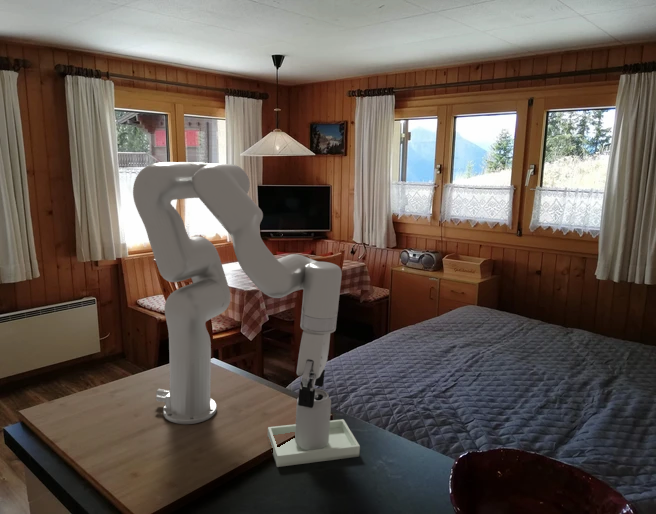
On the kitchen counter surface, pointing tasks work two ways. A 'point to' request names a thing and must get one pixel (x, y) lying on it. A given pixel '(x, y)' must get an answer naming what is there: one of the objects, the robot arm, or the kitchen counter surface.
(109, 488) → the kitchen counter surface
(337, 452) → the tray
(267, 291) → the robot arm
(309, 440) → the can
